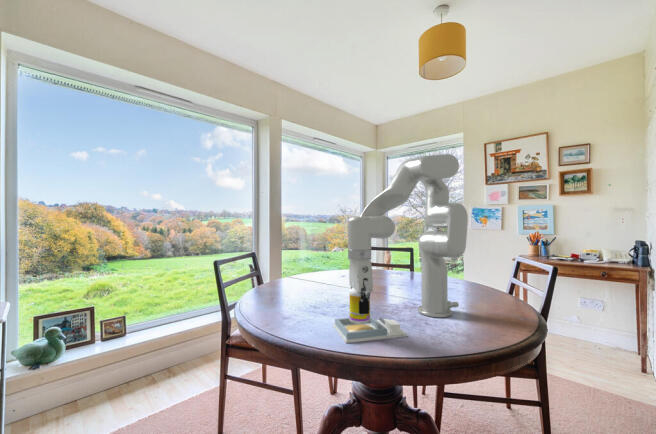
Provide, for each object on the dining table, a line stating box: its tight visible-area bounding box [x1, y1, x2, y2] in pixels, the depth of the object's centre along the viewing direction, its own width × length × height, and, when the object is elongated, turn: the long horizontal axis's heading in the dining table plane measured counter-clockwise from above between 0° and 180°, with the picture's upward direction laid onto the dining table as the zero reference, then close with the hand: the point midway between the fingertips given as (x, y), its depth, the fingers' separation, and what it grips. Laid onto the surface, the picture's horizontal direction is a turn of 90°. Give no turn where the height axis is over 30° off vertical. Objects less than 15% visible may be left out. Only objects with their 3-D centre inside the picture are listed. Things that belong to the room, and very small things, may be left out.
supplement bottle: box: [348, 282, 371, 324], centre depth 94 cm, size 7×7×13 cm
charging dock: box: [332, 315, 408, 344], centre depth 95 cm, size 20×14×3 cm
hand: (359, 309), depth 94 cm, fingers closed on supplement bottle, 6 cm apart
